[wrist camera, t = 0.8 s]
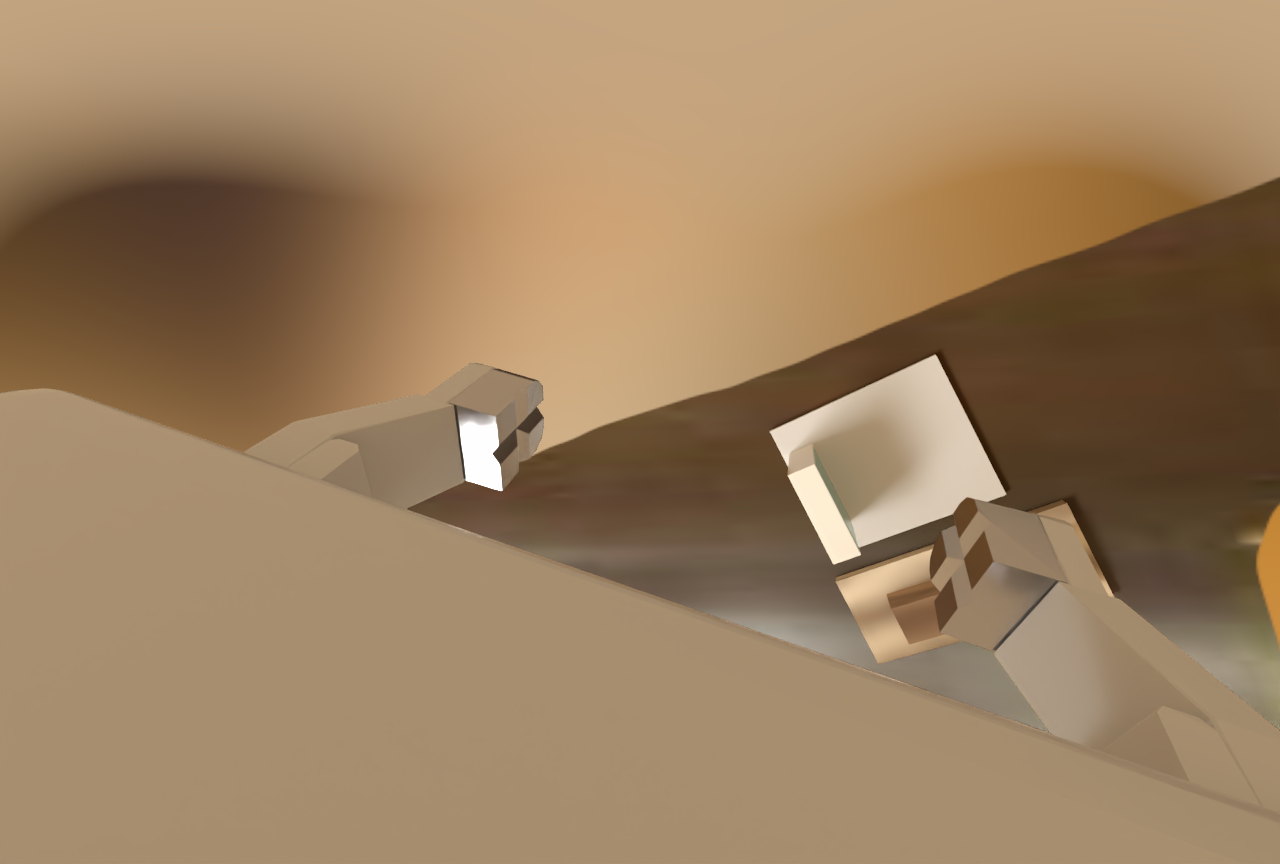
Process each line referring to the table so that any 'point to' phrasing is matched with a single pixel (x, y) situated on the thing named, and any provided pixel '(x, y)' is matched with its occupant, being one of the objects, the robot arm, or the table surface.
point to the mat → (896, 451)
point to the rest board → (905, 571)
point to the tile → (823, 504)
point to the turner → (916, 611)
